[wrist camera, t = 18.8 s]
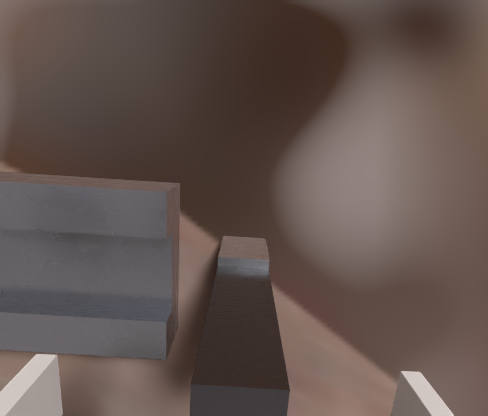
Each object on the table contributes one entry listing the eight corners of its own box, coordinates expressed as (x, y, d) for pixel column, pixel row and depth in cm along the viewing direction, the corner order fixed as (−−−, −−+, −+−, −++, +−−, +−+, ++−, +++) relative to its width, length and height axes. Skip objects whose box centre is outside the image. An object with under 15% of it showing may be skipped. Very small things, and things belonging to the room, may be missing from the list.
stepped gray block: (220, 288, 23) (188, 473, 10) (223, 236, 22) (191, 368, 9) (260, 291, 23) (279, 478, 10) (265, 238, 22) (291, 374, 9)
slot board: (-18, 316, 23) (-63, 346, 20) (-42, 169, 21) (-99, 174, 17) (177, 328, 24) (166, 359, 20) (179, 183, 21) (166, 192, 17)
